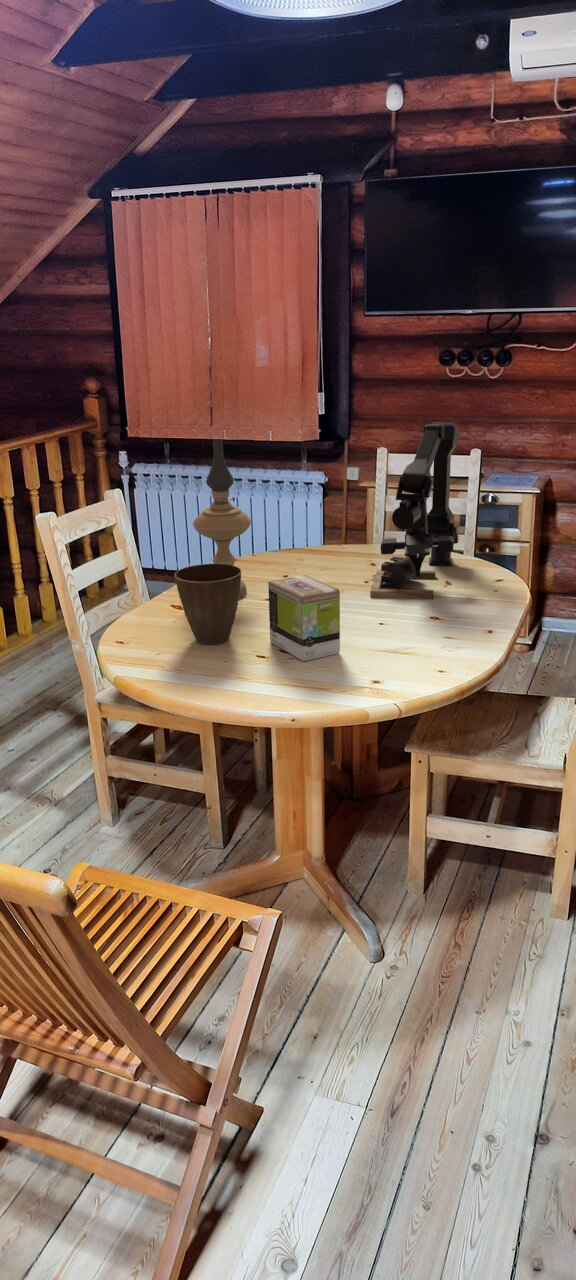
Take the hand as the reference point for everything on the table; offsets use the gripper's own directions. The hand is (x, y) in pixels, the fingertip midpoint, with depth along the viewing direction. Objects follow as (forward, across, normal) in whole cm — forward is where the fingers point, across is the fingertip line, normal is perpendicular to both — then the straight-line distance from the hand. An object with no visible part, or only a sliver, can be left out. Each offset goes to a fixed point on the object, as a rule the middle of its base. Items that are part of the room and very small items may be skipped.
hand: (418, 576), depth 249 cm
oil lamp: (0, -50, -11) cm, 51 cm away
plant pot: (-1, -45, -45) cm, 64 cm away
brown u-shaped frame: (+2, -3, -1) cm, 4 cm away
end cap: (+2, -5, +1) cm, 6 cm away
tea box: (0, -23, -49) cm, 54 cm away
